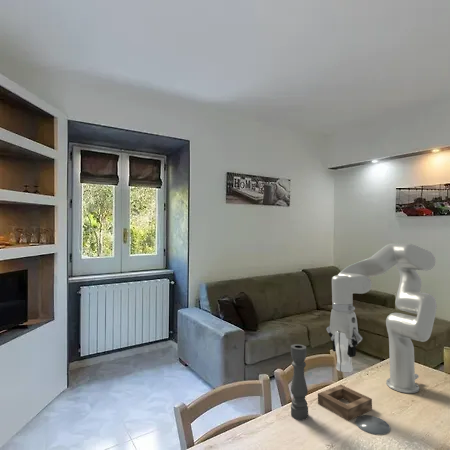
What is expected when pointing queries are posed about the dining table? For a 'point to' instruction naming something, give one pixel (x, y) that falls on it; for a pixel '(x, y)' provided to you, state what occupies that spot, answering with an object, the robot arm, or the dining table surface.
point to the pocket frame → (347, 411)
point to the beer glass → (342, 353)
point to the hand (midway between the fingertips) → (344, 353)
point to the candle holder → (299, 383)
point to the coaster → (372, 424)
